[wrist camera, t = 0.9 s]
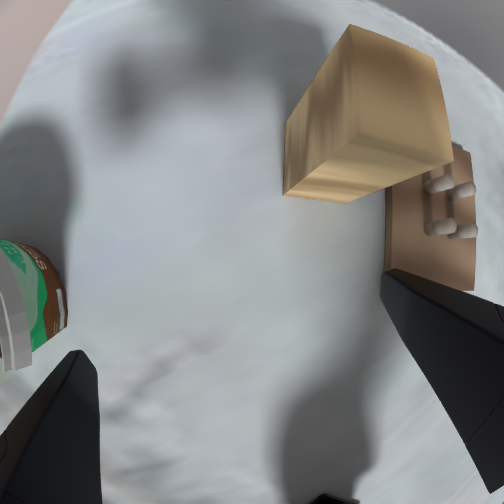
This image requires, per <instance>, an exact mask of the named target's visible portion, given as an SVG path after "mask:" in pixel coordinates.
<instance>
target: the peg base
mask: <svg viewBox="0 0 504 504" xmlns="http://www.w3.org/2000/svg"><path fill="white" fill-rule="evenodd" d="M452 150H453V158H454V161H453V162H450V163H448V164H445V165H443V166H440V167H437V168H435V169H432V170H430V171H427V172H424V173H422V174H419V175H417V176H414V177H412V178H409V179H406V180H404V181H401V182H399V183H396V184H394V185H391V186H389V187H386V238H385V262H384V271H385V270H388V269H391V268H398V269H400V270H403V271H406V272H409V273H412V274H415V275H418V276H421V277H424V278H427V279H429V280H432V281H435V282H438V283H441V284H444V285H446V286H449V287H452V288H455V289H457V290H460V291H474V282H475V264H476V236H477V234H478V228H477V225H476V211H475V193H476V187H475V185H474V181H473V171H472V163H471V155H470V153H469V152H467V151H465V150H462V149H460V148H458V147H455V146H453V145H452Z"/></svg>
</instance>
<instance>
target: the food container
mask: <svg viewBox="0 0 504 504" xmlns="http://www.w3.org/2000/svg"><path fill="white" fill-rule="evenodd" d="M67 316H68V310H67V303H66V295H65V290H64V288H63V285H62V282H61V280H60V277H59V274H58V272H57V271H56V269H55V268H54V266H53V265H52V263H51V262H50V261H49V259H48V258H47V257H46V256H45V255H44V254H42V253H41V252H40V251H39V250H37V249H35V248H33V247H31V246H28V245H23V244H19V243H15V242H11V241H7V240H3V239H0V358H2V361H3V372H6V371H8V370H10V369H13V370H18V369H21V368H24V367H27V366H30V365H32V352H33V351H35V350H36V349H37V348H39V347H40V346H41V345H43V344H44V343H45V342H47V341H48V340H49V339H51V338H52V337H53V336H55V335H56V334H57V333H59V332H60V331H61V330H63V329H64V328H65V327H67Z"/></svg>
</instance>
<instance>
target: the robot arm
mask: <svg viewBox="0 0 504 504" xmlns="http://www.w3.org/2000/svg"><path fill="white" fill-rule="evenodd" d="M380 298H381V301H382V303H383V305H384V306H385V308H386V310H387V312H388V314H389V316H390V318H391V320H392V322H393V323H394V325H395V327H396V329H397V331H398V333H399V335H400V337H401V339H402V340H403V342H404V344H405V345H406V347H407V348H408V350H409V351H410V353H411V355H412V356H413V358H414V359H415V361H416V362H417V364H418V366H419V367H420V369H421V370H422V372H423V373H424V375H425V377H426V378H427V380H428V382H429V383H430V385H431V386H432V388H433V390H434V391H435V393H436V395H437V396H438V398H439V400H440V401H441V403H442V405H443V407H444V408H445V410H446V412H447V413H448V415H449V417H450V419H451V420H452V422H453V424H454V426H455V428H456V429H457V431H458V433H459V435H460V437H461V438H462V440H463V442H464V444H465V446H466V448H467V450H468V452H469V454H470V456H471V458H472V459H473V461H474V463H475V465H476V467H477V469H478V471H479V473H480V475H481V477H482V479H483V481H484V483H485V486H486V488H487V490H488V491H489V493H490V494H491V493H493V492H494V491H496V490H497V489H499V488H500V487H502V486H503V485H504V306H501V305H498V304H494V303H493V302H490V301H488V300H485V299H482V298H479V297H477V296H474V295H471V294H469V293H466V292H463V291H460V290H457V289H455V288H452V287H449V286H446V285H444V284H441V283H438V282H435V281H432V280H429V279H427V278H424V277H421V276H418V275H415V274H412V273H409V272H406V271H403V270H400V269H398V268H391V269H388V270H385V271H383V273H382V275H381V286H380ZM323 498H324V499H323ZM0 504H102V492H101V475H100V413H99V398H98V377H97V371H96V368H95V367H94V365H93V364H92V362H91V361H90V360H89V358H88V357H87V355H86V354H85V353H84V351H82V350H74V351H70V352H69V353H68V354H67V355H66V356H65V357H64V358H63V360H62V361H61V362H60V363H59V364H58V365H57V366H56V368H55V369H54V370H53V371H52V372H51V373H50V375H49V376H48V377H47V378H46V379H45V381H44V382H43V383H42V384H41V385H40V387H39V388H38V389H37V390H36V391H35V393H34V394H33V395H32V396H31V397H30V399H29V400H28V401H27V402H26V404H25V405H24V406H23V407H22V409H21V410H20V411H19V412H18V414H17V415H16V416H15V418H14V419H13V420H12V421H11V423H10V424H9V425H8V427H7V428H6V430H4V432H3V433H2V434H1V436H0ZM311 504H354V503H351V502H348V501H345V500H342V499H339V498H336V497H333V496H331V495H328V494H323V495H321V496H319V497H318V498H317V499H316V500H315V501H313V502H312V503H311Z"/></svg>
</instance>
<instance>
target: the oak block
mask: <svg viewBox="0 0 504 504" xmlns="http://www.w3.org/2000/svg"><path fill="white" fill-rule="evenodd" d="M453 161H454V158H453V150H452V143H451V136H450V129H449V123H448V118H447V112H446V107H445V102H444V97H443V93H442V88H441V84H440V80H439V76H438V72H437V68H436V65H435V61H434V58H433V57H431V56H429V55H427V54H424V53H422V52H420V51H418V50H416V49H414V48H412V47H409V46H407V45H405V44H402V43H400V42H398V41H395V40H393V39H390V38H388V37H385V36H383V35H380V34H377V33H375V32H372V31H369V30H366V29H363V28H361V27H358V26H355V25H351V24H349V26H348V27H347V29H346V30H345V32H344V33H343V35H342V36H341V38H340V39H339V41H338V42H337V44H336V45H335V47H334V48H333V50H332V51H331V53H330V54H329V56H328V57H327V59H326V60H325V62H324V63H323V65H322V66H321V68H320V70H319V71H318V73H317V74H316V76H315V77H314V79H313V80H312V82H311V84H310V85H309V87H308V88H307V90H306V91H305V93H304V94H303V96H302V98H301V99H300V101H299V102H298V104H297V106H296V107H295V109H294V110H293V112H292V114H291V115H290V117H289V118H288V120H287V122H286V139H285V163H284V183H283V196H291V197H299V198H307V199H315V200H322V201H330V202H337V203H344V204H346V203H348V202H351V201H353V200H356V199H358V198H361V197H363V196H366V195H368V194H371V193H373V192H376V191H378V190H381V189H383V188H386V187H389V186H391V185H394V184H396V183H399V182H401V181H404V180H406V179H409V178H412V177H414V176H417V175H419V174H422V173H424V172H427V171H430V170H432V169H435V168H437V167H440V166H443V165H445V164H448V163H450V162H453Z"/></svg>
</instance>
